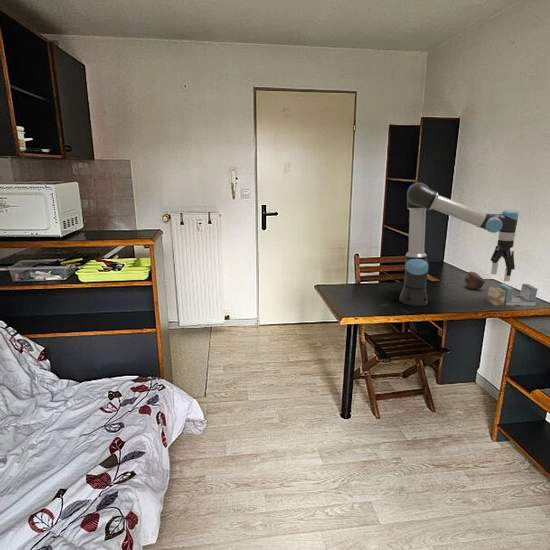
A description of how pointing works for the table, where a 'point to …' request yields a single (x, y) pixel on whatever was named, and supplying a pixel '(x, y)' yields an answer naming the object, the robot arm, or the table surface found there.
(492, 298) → the block
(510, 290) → the jaw
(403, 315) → the table surface
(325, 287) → the table surface
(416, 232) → the robot arm
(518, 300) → the vise
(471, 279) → the rock
